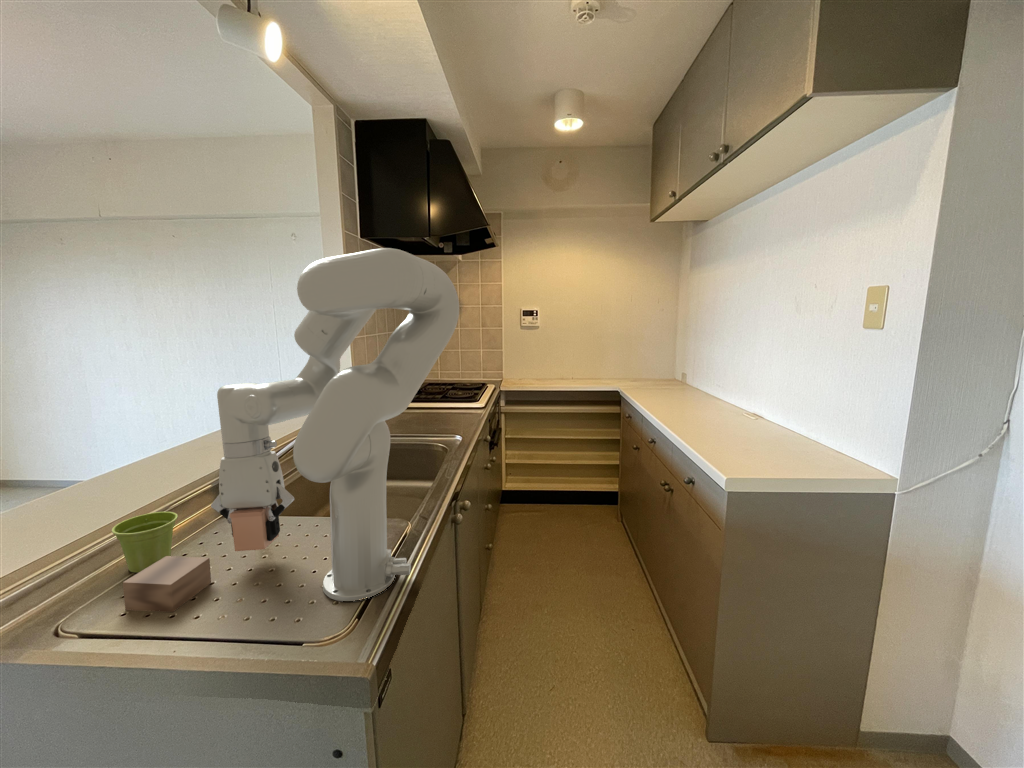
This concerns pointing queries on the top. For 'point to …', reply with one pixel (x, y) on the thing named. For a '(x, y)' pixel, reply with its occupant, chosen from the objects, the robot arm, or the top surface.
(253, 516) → the peach lipped block
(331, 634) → the top surface
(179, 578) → the walnut box
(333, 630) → the top surface
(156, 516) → the plant pot
